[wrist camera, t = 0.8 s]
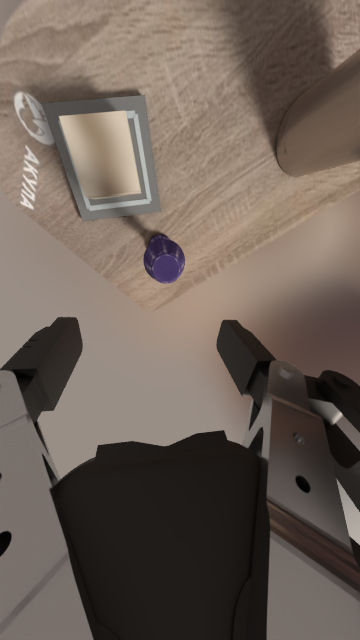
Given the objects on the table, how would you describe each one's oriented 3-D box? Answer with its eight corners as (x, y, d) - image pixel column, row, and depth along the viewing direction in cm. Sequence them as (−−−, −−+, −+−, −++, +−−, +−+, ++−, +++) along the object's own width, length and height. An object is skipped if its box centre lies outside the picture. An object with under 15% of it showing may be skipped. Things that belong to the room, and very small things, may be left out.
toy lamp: (141, 249, 31) (133, 278, 16) (154, 224, 29) (158, 232, 15) (164, 264, 33) (175, 301, 18) (178, 241, 31) (201, 263, 17)
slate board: (144, 99, 22) (144, 94, 21) (160, 211, 28) (161, 211, 27) (46, 107, 21) (41, 102, 20) (85, 221, 27) (82, 221, 26)
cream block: (129, 126, 22) (125, 110, 19) (141, 193, 26) (140, 190, 22) (72, 131, 22) (58, 116, 18) (93, 199, 25) (84, 196, 22)
